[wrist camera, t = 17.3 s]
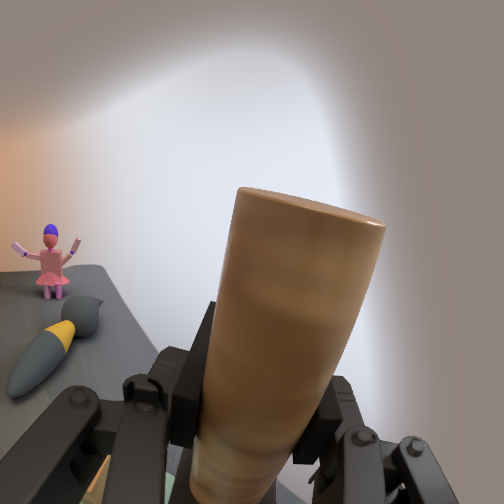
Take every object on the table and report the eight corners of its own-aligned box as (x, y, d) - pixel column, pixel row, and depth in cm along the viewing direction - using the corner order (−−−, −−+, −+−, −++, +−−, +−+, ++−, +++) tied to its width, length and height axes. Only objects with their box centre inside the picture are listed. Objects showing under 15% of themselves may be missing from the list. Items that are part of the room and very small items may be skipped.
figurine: (17, 289, 32) (12, 221, 30) (81, 290, 39) (81, 223, 37) (13, 299, 30) (7, 226, 27) (81, 299, 37) (81, 228, 34)
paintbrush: (41, 420, 15) (25, 381, 14) (3, 399, 15) (-13, 360, 13) (111, 320, 34) (110, 287, 33) (81, 312, 34) (79, 280, 33)
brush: (264, 477, 13) (370, 215, 9) (262, 542, 8) (459, 252, 4) (183, 463, 13) (224, 180, 9) (166, 528, 8) (178, 182, 4)
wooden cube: (121, 473, 13) (113, 447, 12) (104, 512, 9) (90, 493, 8) (74, 452, 13) (61, 423, 12) (54, 487, 9) (34, 461, 8)
